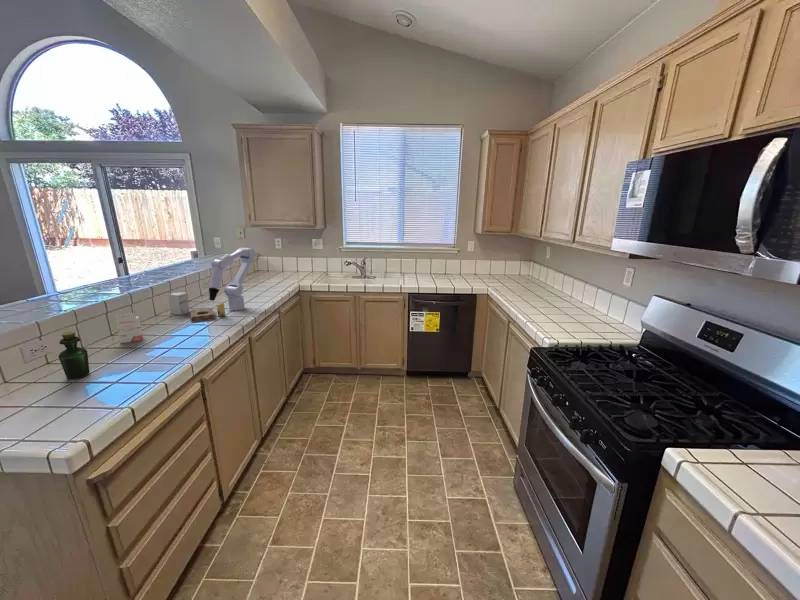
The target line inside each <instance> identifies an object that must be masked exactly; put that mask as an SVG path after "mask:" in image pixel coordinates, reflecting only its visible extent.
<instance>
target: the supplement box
mask: <svg viewBox="0 0 800 600" xmlns="http://www.w3.org/2000/svg"><path fill="white" fill-rule="evenodd" d="M167 298H168V303H169V309H170V314H171V313H173V314H172V315H178V314H181V315H183V314H186V313H189V312H190V307H189V299H188V298H189V296H188V293H187V292H182V291H181V292H178V291H177V292H174V293H170V294H168V295H167ZM188 311H189V312H188Z"/></svg>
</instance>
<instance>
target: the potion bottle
mask: <svg viewBox="0 0 800 600" xmlns="http://www.w3.org/2000/svg"><path fill="white" fill-rule="evenodd" d="M61 337H62V338H61V339H60V340H59V344H60V345H64V347H65V349H64V350H62V351H61V352H60V353H59V354H58V357H57V358H58V359H59V362H60V364H61V367H62V370H63V372H64V374H65V378H66V379H68V380H79V379H82V378H85V377H87V376H88V375H89V374H90V367H89V366H90V364H89V355H88V354H89V353H88V350H87V349H86V348H85V347H79V346H78V343H79V342H80V341H81V338H80V337H79V336H77V335H76V332H75V331H66V332H62V333H61Z"/></svg>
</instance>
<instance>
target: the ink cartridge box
mask: <svg viewBox="0 0 800 600" xmlns="http://www.w3.org/2000/svg"><path fill="white" fill-rule="evenodd" d="M114 317H115V325H116V330H117V334H118V339H119V343H120V344H124V343H132V342H140V341H142V340H143V339H144V336H143V332H142V325H141V322H140V321H141V320H140V317H139V315H137V313H135V312H130V313H120V314H117V313H116V314H115V315H114Z"/></svg>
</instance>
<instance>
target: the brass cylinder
mask: <svg viewBox="0 0 800 600" xmlns="http://www.w3.org/2000/svg"><path fill="white" fill-rule="evenodd" d="M216 309H217V318H225V317H226V311H225V309H226V308H225V304H224V303H221V302H220V303H217V304H216ZM224 316H225V317H224Z"/></svg>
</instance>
